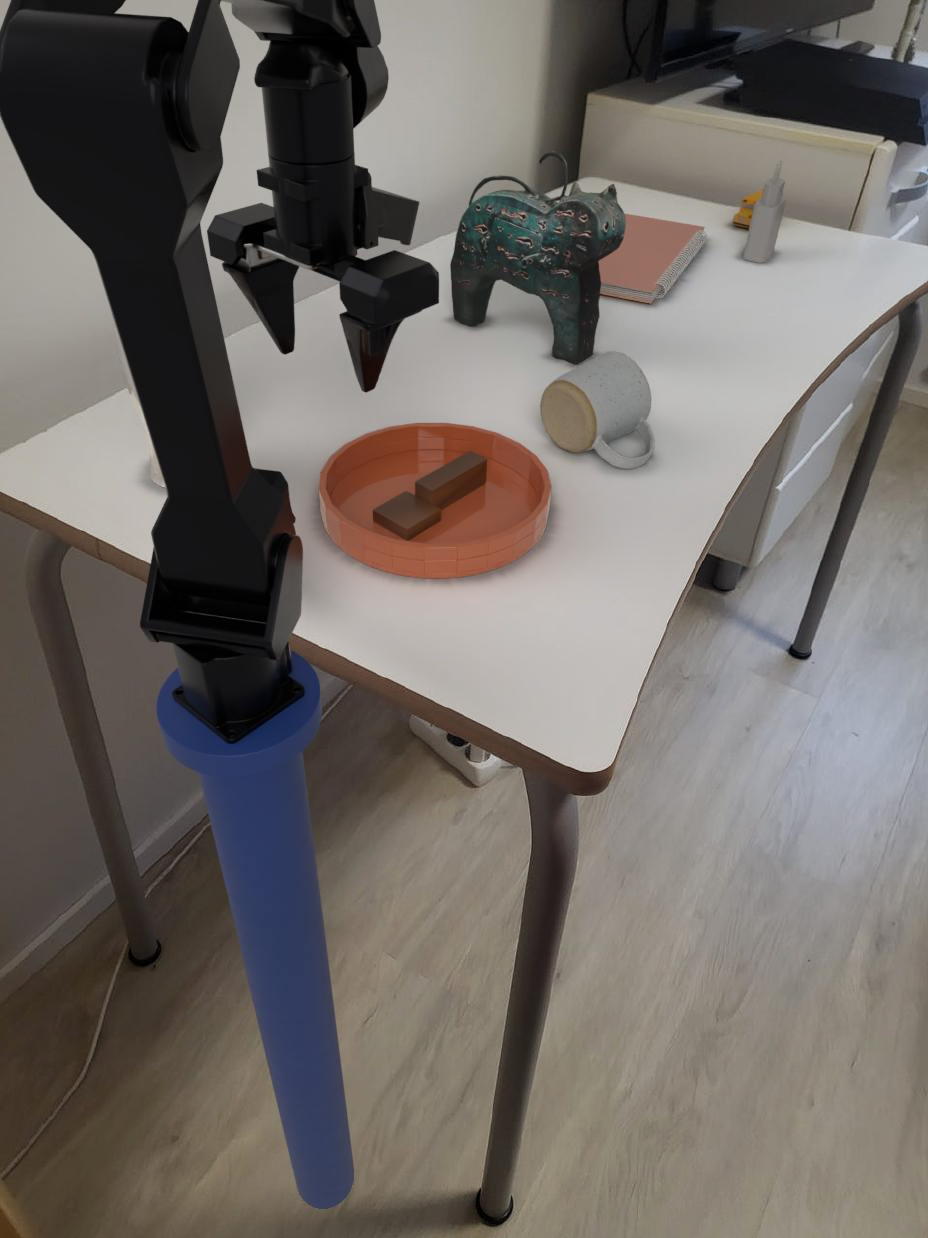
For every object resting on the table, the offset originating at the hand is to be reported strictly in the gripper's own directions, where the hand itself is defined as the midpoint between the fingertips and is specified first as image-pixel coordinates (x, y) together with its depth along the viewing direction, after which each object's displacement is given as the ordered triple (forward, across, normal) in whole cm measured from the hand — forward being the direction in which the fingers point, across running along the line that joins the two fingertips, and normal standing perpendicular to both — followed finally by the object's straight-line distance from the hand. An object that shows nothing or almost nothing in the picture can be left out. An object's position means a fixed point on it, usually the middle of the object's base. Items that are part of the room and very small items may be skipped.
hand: (326, 370), depth 73 cm
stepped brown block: (+12, -7, -5) cm, 14 cm away
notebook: (+12, +15, -67) cm, 70 cm away
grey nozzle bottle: (+12, +3, -82) cm, 83 cm away
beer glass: (+12, +13, +6) cm, 19 cm away
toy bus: (+12, +10, -95) cm, 96 cm away
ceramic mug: (+12, -11, -24) cm, 29 cm away
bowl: (+12, -7, -5) cm, 15 cm away
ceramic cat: (+12, +9, -37) cm, 40 cm away
